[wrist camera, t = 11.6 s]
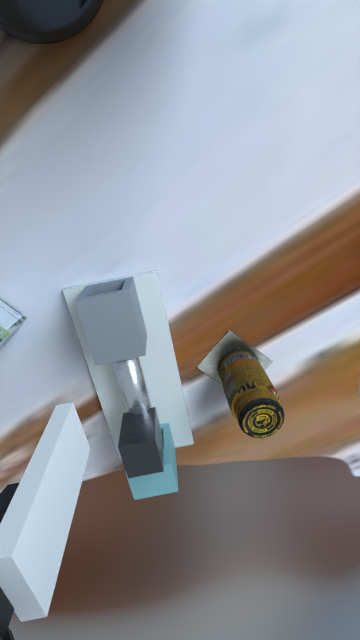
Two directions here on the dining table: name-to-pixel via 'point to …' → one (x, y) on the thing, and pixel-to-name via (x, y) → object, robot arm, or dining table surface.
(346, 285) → the dining table surface
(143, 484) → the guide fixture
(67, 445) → the robot arm
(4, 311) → the syrup box
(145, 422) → the tube
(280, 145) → the dining table surface
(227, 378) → the condiment
